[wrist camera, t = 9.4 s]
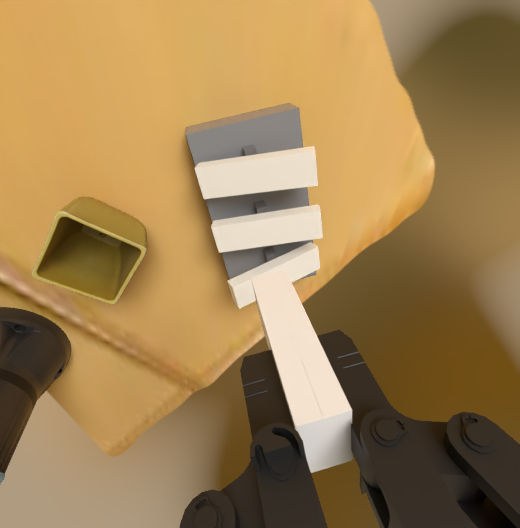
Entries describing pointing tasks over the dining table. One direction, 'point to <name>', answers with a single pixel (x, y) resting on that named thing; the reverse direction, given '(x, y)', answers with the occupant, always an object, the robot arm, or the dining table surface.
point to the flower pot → (92, 250)
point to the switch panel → (244, 144)
